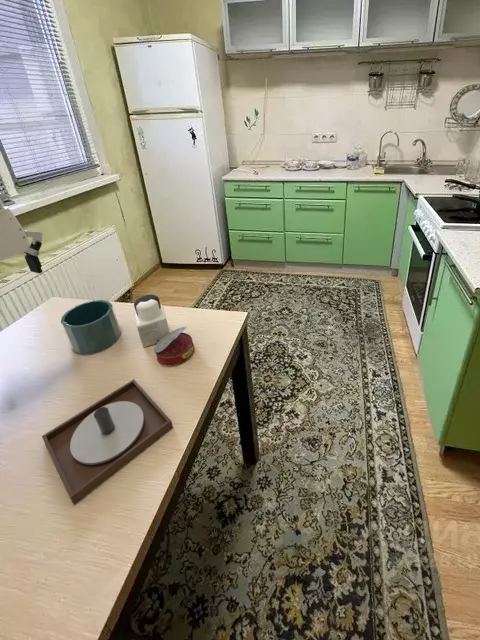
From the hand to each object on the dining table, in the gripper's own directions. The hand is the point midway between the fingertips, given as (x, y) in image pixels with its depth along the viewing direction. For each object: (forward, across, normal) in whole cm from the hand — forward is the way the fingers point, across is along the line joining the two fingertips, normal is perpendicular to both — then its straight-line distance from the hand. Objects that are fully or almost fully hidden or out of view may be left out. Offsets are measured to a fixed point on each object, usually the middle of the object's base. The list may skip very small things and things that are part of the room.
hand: (14, 282), depth 69 cm
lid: (+27, +7, +25) cm, 38 cm away
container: (+28, -21, +12) cm, 37 cm away
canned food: (+28, -17, +22) cm, 40 cm away
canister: (+28, -14, -3) cm, 32 cm away
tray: (+28, +7, +25) cm, 38 cm away
